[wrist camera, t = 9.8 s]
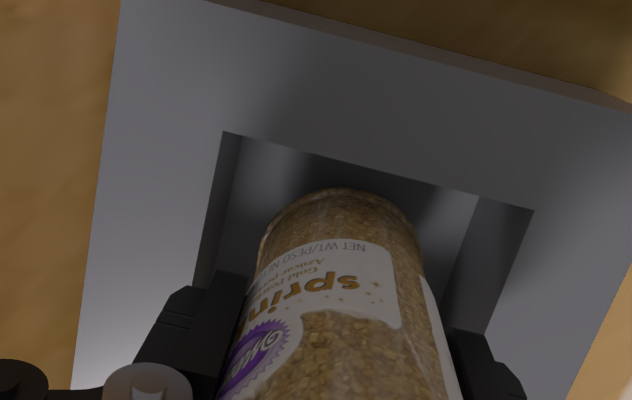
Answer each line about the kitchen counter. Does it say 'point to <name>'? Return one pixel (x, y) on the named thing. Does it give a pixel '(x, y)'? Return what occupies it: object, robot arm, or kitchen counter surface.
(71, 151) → the kitchen counter surface
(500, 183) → the tray
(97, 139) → the kitchen counter surface
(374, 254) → the sprinkles bottle
